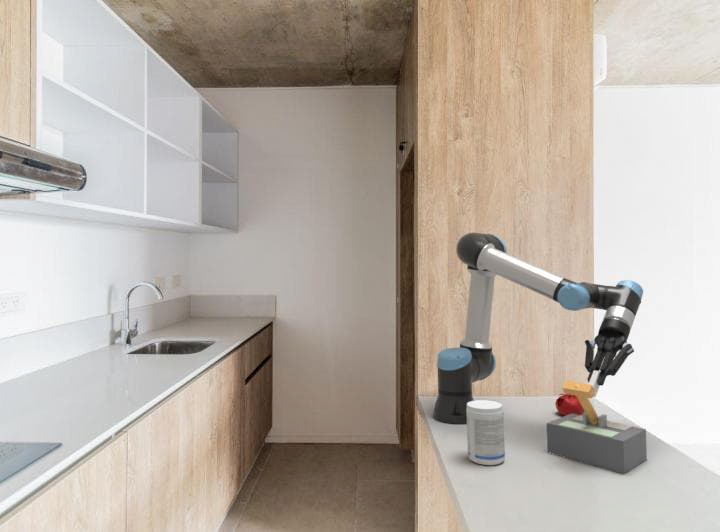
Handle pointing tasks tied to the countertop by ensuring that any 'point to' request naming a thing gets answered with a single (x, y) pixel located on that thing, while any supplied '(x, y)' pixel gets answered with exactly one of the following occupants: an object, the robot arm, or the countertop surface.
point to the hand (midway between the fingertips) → (590, 393)
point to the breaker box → (597, 442)
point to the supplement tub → (485, 432)
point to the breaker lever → (583, 398)
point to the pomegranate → (569, 405)
